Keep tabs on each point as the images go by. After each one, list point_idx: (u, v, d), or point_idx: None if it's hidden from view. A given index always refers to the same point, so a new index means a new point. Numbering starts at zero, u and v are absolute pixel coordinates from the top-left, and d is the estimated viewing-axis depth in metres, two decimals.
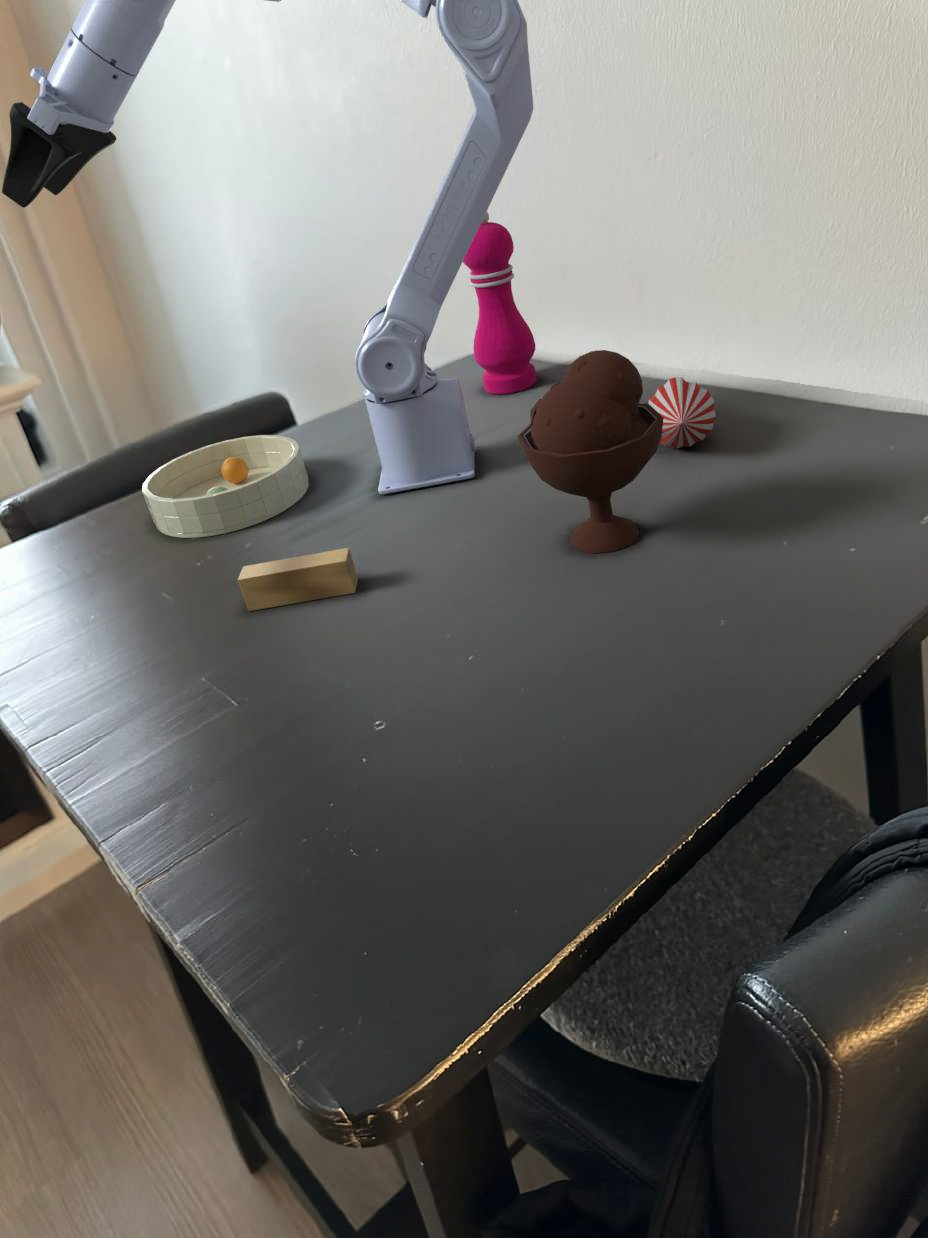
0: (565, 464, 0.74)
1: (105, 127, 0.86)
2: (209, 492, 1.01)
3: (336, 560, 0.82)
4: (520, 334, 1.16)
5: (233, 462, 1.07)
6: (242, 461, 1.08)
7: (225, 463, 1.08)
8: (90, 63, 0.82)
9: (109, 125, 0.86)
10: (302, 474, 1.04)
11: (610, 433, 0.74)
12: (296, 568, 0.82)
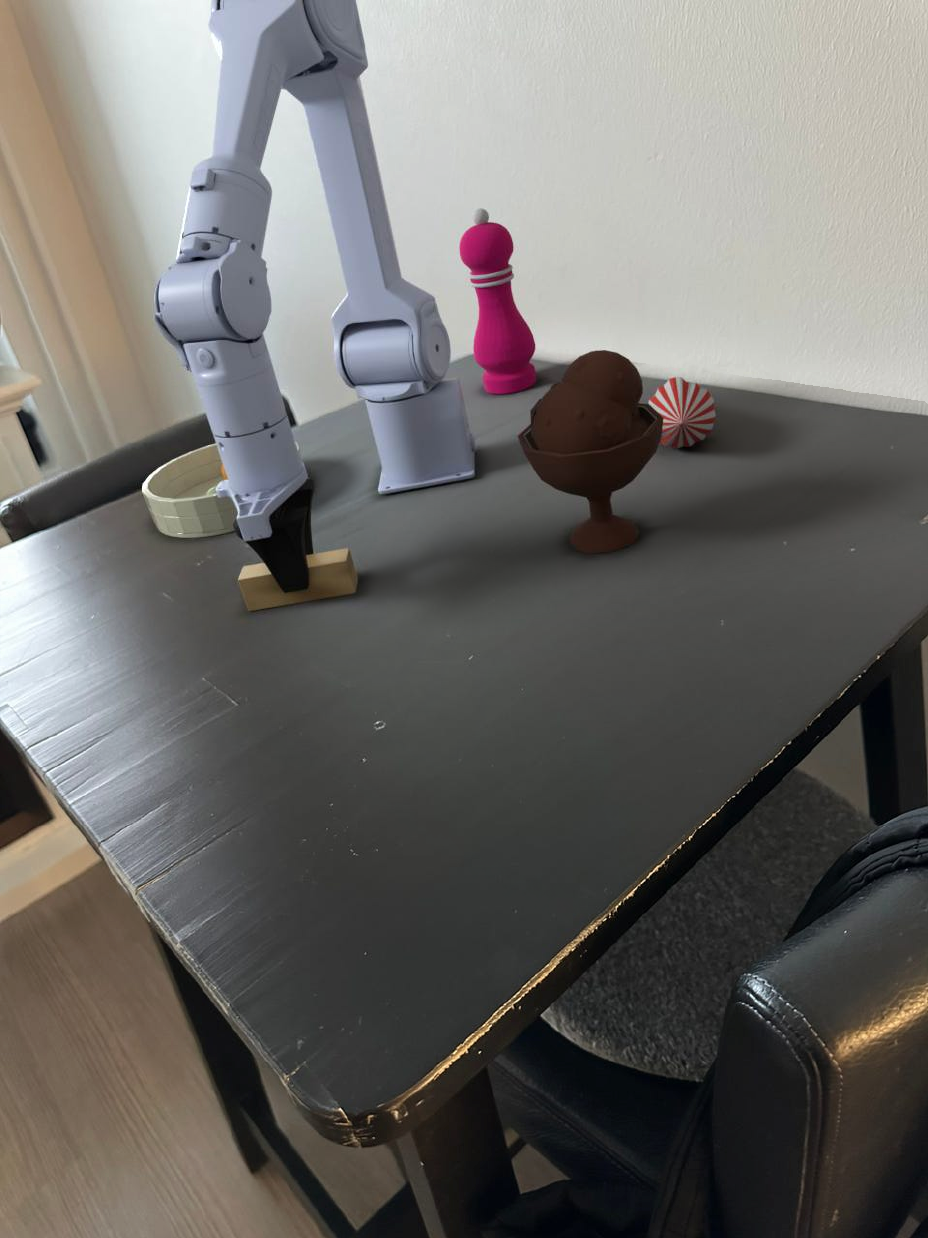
0: (565, 464, 0.74)
1: (302, 478, 0.78)
2: (209, 492, 1.01)
3: (336, 560, 0.82)
4: (520, 334, 1.16)
5: None
6: None
7: None
8: (247, 446, 0.75)
9: (303, 474, 0.78)
10: None
11: (610, 433, 0.74)
12: None
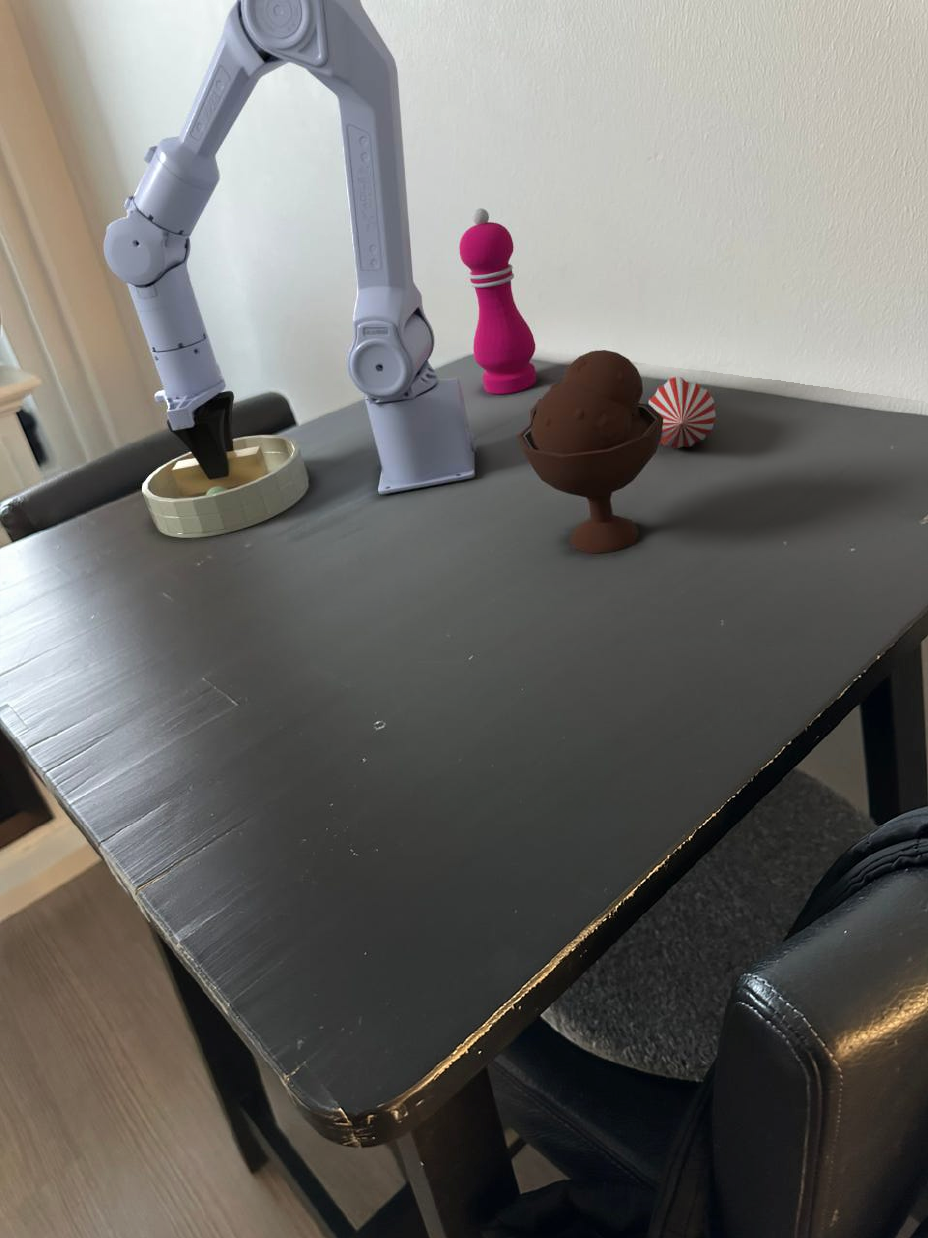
0: (565, 464, 0.74)
1: (220, 386, 1.01)
2: (209, 492, 1.01)
3: (249, 454, 1.05)
4: (520, 334, 1.16)
5: None
6: None
7: None
8: (176, 359, 0.98)
9: (222, 383, 1.01)
10: (302, 474, 1.04)
11: (610, 433, 0.74)
12: None
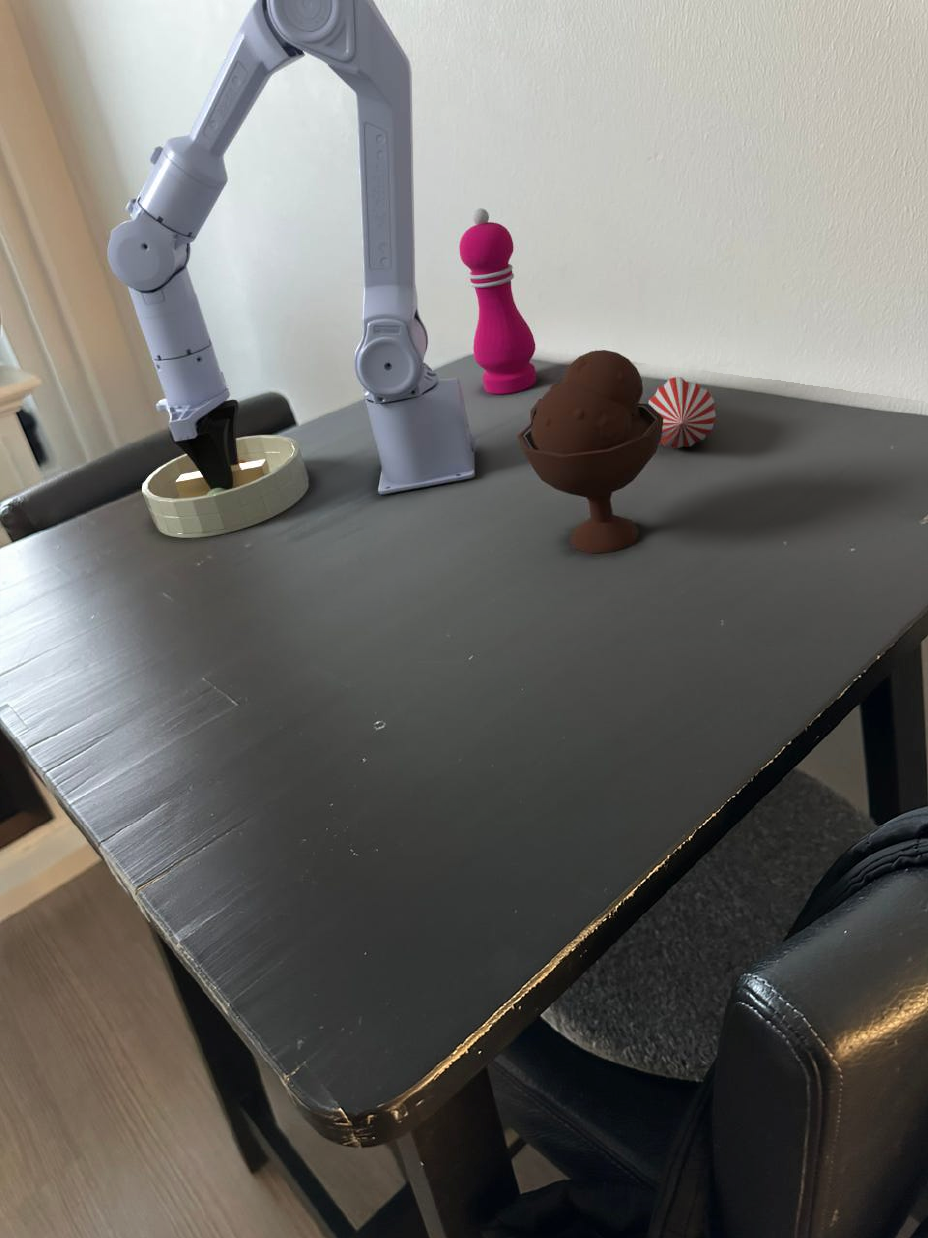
0: (565, 464, 0.74)
1: (224, 396, 0.98)
2: None
3: (254, 466, 1.02)
4: (520, 334, 1.16)
5: None
6: None
7: None
8: (178, 367, 0.95)
9: (226, 392, 0.98)
10: (302, 474, 1.04)
11: (610, 433, 0.74)
12: None
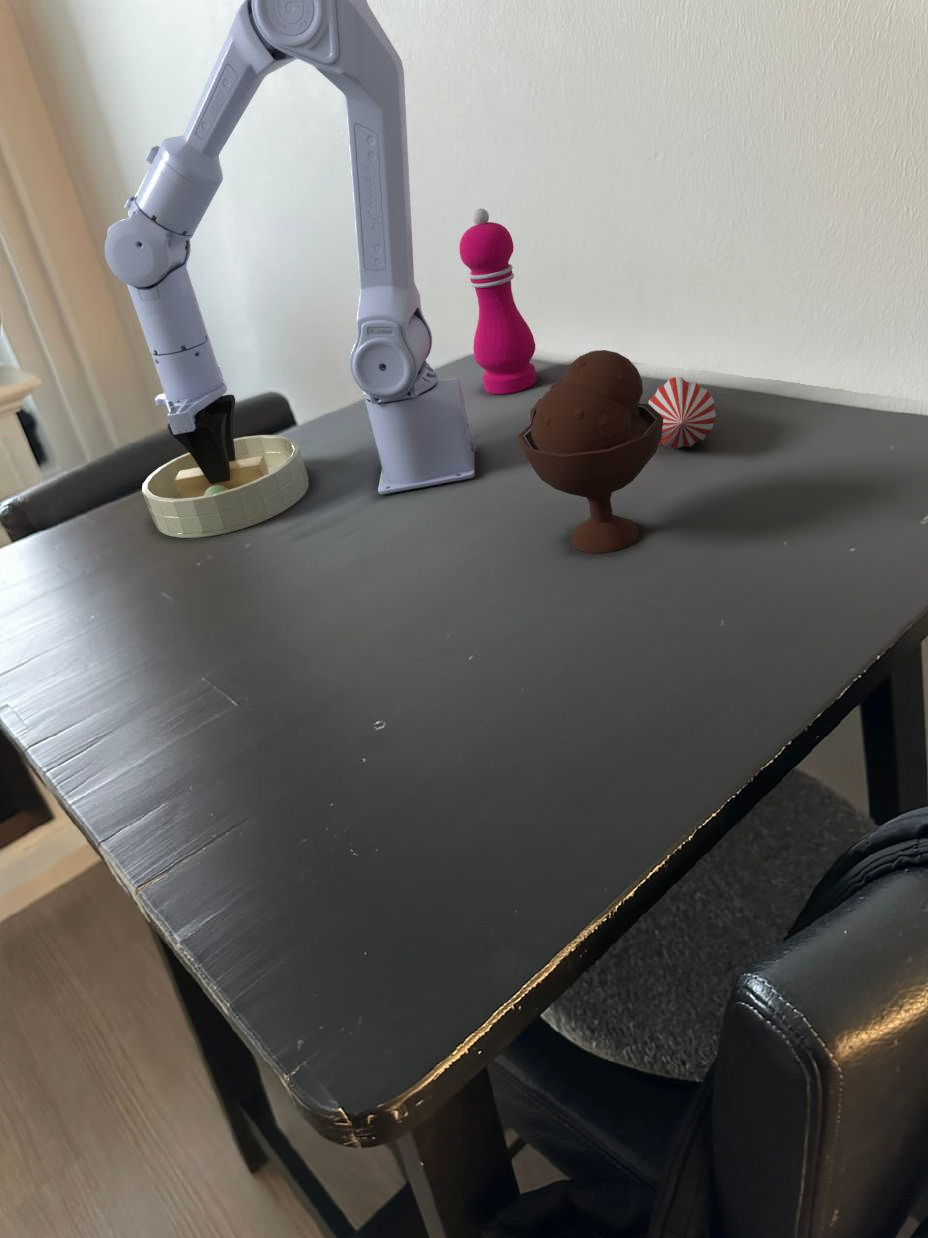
0: (565, 464, 0.74)
1: (221, 390, 1.00)
2: (206, 490, 1.02)
3: (252, 464, 1.04)
4: (520, 334, 1.16)
5: None
6: None
7: None
8: (177, 362, 0.97)
9: (223, 386, 1.00)
10: (302, 474, 1.04)
11: (610, 433, 0.74)
12: None
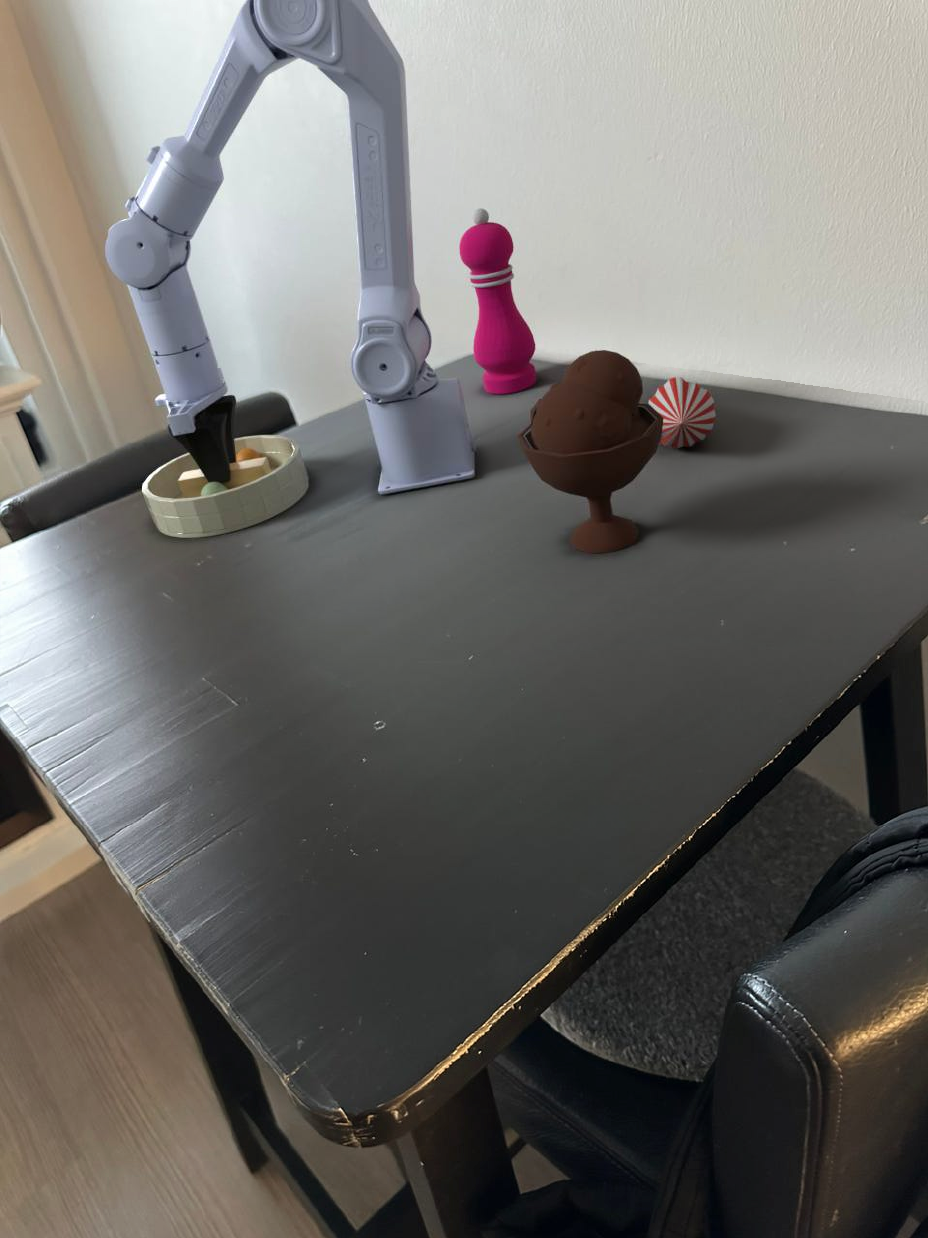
0: (565, 464, 0.74)
1: (222, 391, 0.99)
2: None
3: (255, 465, 1.03)
4: (520, 334, 1.16)
5: (248, 451, 1.09)
6: (257, 457, 1.10)
7: (243, 449, 1.10)
8: (177, 363, 0.96)
9: (223, 387, 1.00)
10: (302, 474, 1.04)
11: (610, 433, 0.74)
12: None
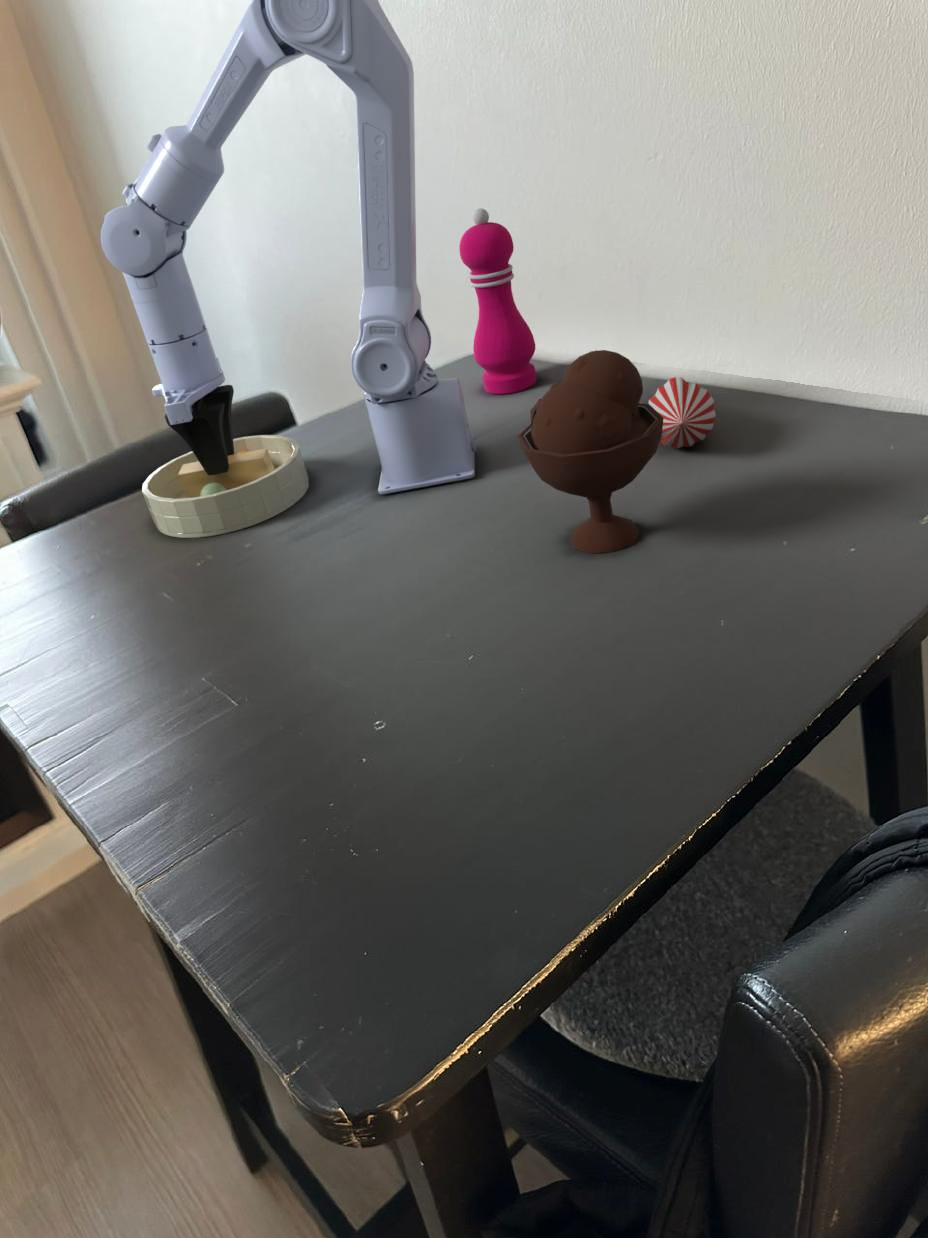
0: (565, 464, 0.74)
1: (219, 380, 0.99)
2: None
3: (256, 458, 1.03)
4: (520, 334, 1.16)
5: None
6: None
7: None
8: (174, 351, 0.96)
9: (221, 376, 0.99)
10: (302, 474, 1.04)
11: (610, 433, 0.74)
12: None
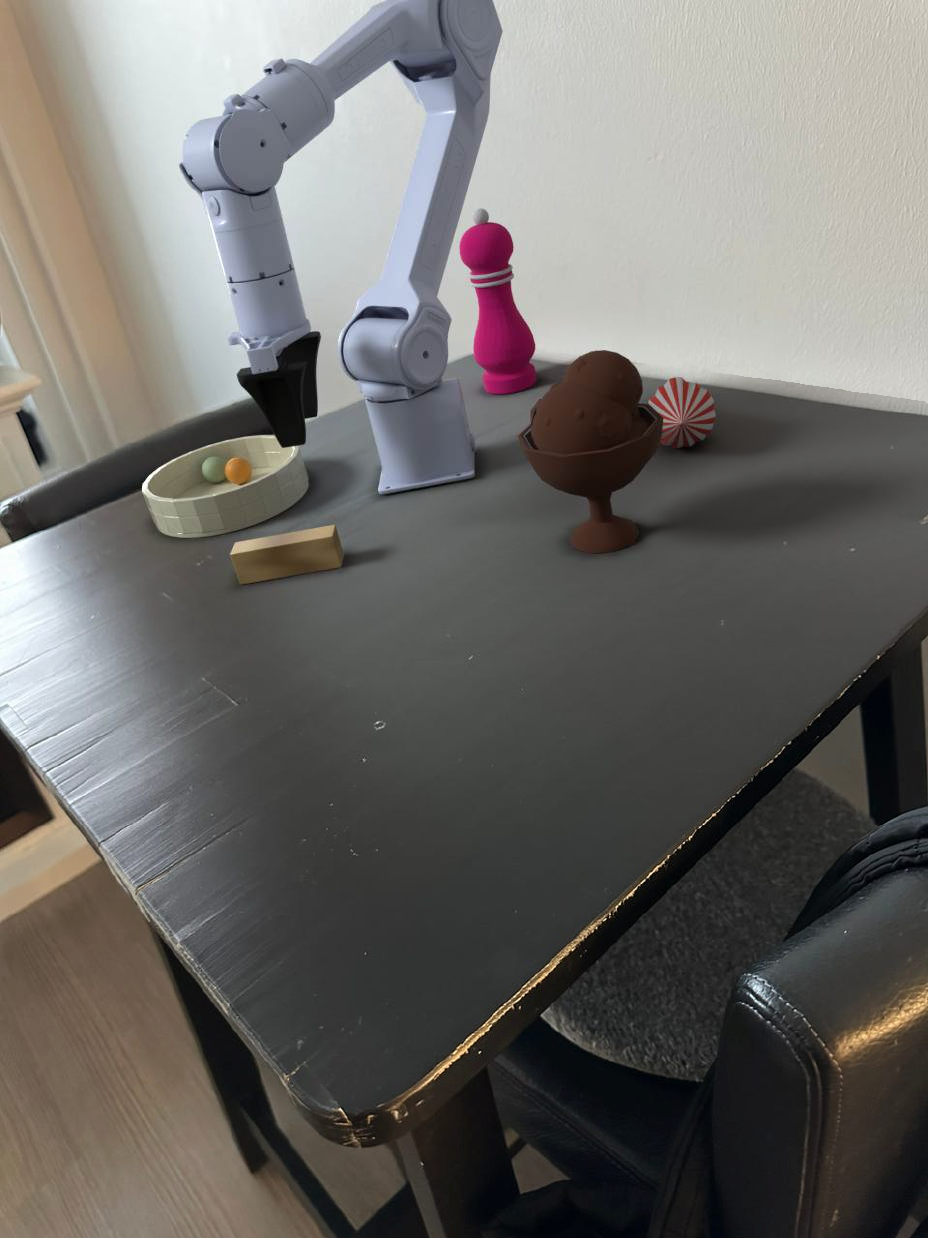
0: (565, 464, 0.74)
1: (306, 328, 0.86)
2: (204, 462, 1.10)
3: (323, 536, 0.86)
4: (520, 334, 1.16)
5: (240, 479, 1.08)
6: (247, 473, 1.08)
7: (232, 478, 1.07)
8: (258, 291, 0.83)
9: (307, 324, 0.86)
10: (302, 474, 1.04)
11: (610, 433, 0.74)
12: (285, 543, 0.87)
